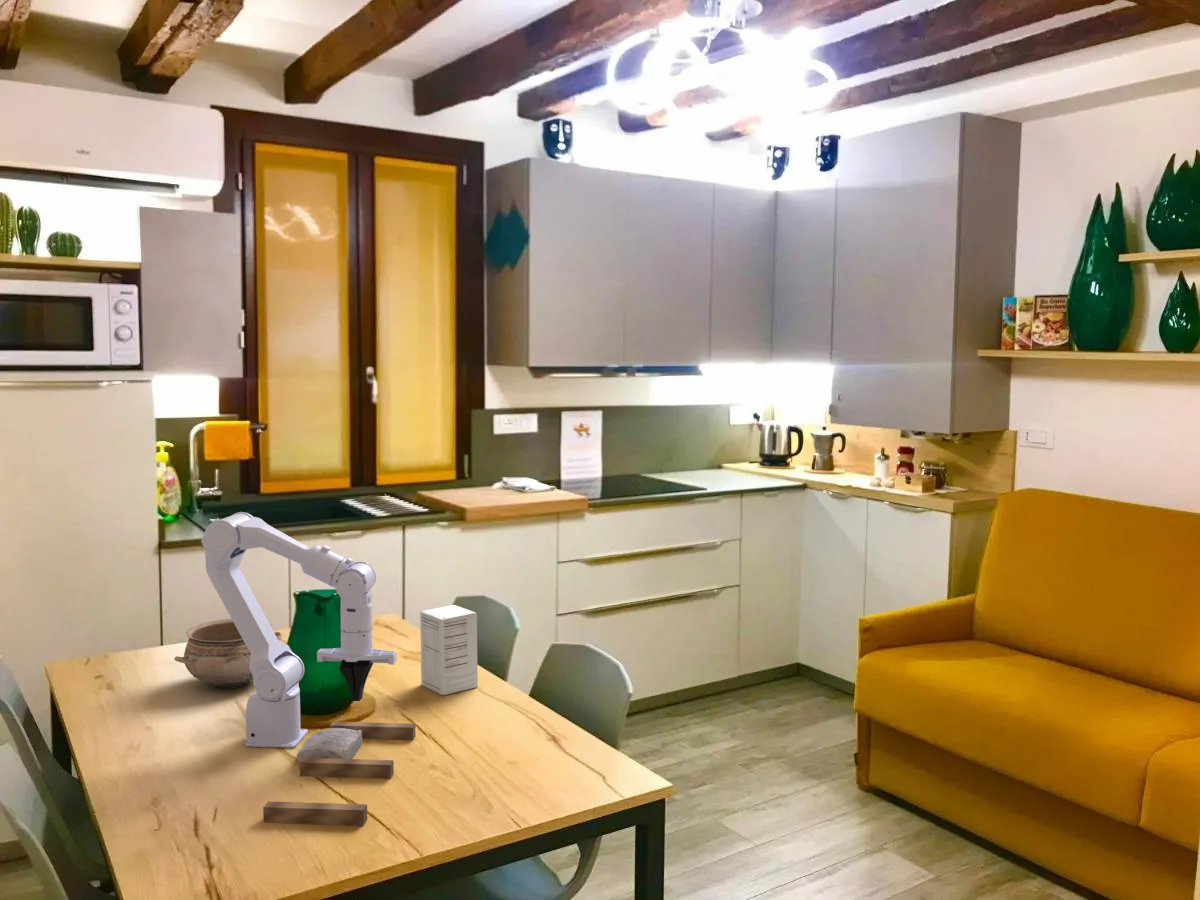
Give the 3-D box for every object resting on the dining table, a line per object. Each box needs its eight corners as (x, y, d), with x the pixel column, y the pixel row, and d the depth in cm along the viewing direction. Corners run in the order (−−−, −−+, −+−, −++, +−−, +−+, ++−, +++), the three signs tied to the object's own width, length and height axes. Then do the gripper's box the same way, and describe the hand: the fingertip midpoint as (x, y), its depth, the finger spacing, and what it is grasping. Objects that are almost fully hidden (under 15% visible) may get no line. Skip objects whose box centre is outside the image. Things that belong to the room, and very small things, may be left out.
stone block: (295, 779, 181) (350, 769, 180) (289, 753, 180) (344, 743, 180) (315, 754, 192) (367, 745, 192) (310, 730, 192) (361, 721, 192)
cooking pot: (258, 660, 240) (257, 610, 238) (305, 678, 228) (304, 625, 226) (155, 688, 221) (152, 633, 219) (199, 709, 209) (197, 651, 207)
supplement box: (478, 687, 223) (478, 612, 221) (442, 696, 217) (442, 619, 215) (455, 676, 231) (455, 603, 229) (419, 684, 225) (419, 610, 223)
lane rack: (263, 822, 161) (263, 807, 160) (333, 733, 196) (333, 721, 196) (363, 825, 160) (363, 810, 160) (415, 736, 196) (415, 723, 195)
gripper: (310, 633, 186) (311, 705, 187) (389, 636, 185) (389, 708, 186) (323, 622, 193) (324, 692, 194) (399, 625, 192) (399, 695, 193)
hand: (357, 699), depth 191 cm, fingers closed
